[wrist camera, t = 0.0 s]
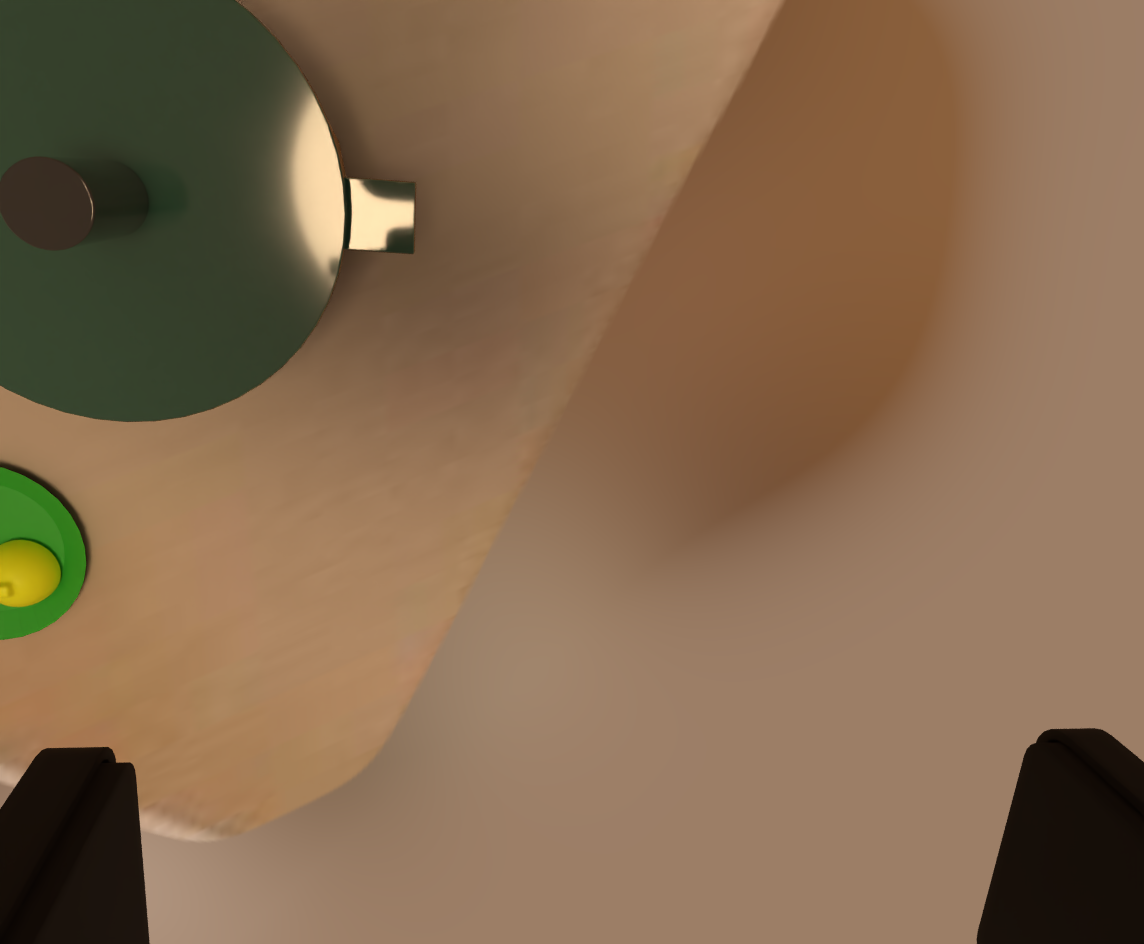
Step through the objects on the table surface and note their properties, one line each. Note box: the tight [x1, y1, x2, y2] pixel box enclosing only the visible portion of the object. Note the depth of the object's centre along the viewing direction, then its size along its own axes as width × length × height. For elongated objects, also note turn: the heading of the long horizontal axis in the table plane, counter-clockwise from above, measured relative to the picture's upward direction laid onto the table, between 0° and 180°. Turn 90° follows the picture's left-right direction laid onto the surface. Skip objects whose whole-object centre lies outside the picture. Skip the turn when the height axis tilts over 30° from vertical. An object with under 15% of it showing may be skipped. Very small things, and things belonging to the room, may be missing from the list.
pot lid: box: [0, 0, 348, 422], centre depth 27 cm, size 15×15×6 cm
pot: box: [331, 128, 416, 254], centre depth 32 cm, size 14×19×6 cm
